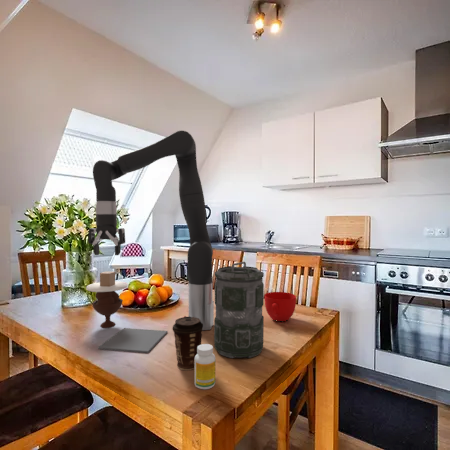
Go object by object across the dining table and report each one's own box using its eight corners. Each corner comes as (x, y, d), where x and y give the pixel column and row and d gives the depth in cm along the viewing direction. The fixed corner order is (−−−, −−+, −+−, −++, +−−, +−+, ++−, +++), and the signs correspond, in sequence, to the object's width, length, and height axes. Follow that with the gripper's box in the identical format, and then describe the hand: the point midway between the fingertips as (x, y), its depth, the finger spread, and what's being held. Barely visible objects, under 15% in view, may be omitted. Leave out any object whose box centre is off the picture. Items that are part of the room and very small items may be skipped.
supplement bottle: (191, 381, 78) (191, 344, 78) (210, 376, 81) (210, 341, 80) (199, 392, 74) (199, 353, 73) (218, 386, 76) (219, 349, 76)
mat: (167, 332, 111) (167, 330, 111) (148, 353, 94) (148, 351, 94) (124, 329, 114) (124, 327, 114) (98, 348, 97) (98, 347, 97)
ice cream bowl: (113, 331, 112) (112, 291, 112) (86, 329, 114) (86, 289, 114) (127, 321, 123) (127, 284, 122) (103, 319, 125) (102, 283, 124)
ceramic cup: (256, 325, 119) (257, 299, 119) (269, 312, 135) (269, 290, 134) (289, 330, 114) (289, 304, 114) (298, 317, 129) (299, 293, 129)
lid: (134, 284, 124) (134, 270, 124) (115, 292, 109) (115, 276, 109) (100, 282, 127) (100, 268, 126) (77, 290, 112) (77, 275, 112)
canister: (231, 335, 109) (232, 257, 108) (271, 346, 100) (272, 261, 99) (204, 351, 96) (204, 263, 95) (247, 365, 87) (247, 268, 86)
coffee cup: (189, 355, 93) (189, 313, 93) (209, 363, 88) (209, 319, 88) (167, 365, 86) (167, 320, 86) (187, 375, 81) (187, 327, 81)
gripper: (128, 213, 120) (128, 254, 120) (95, 213, 122) (95, 253, 123) (118, 213, 112) (119, 256, 113) (83, 213, 115) (84, 255, 115)
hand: (107, 255), depth 118 cm, fingers open, 8 cm apart
